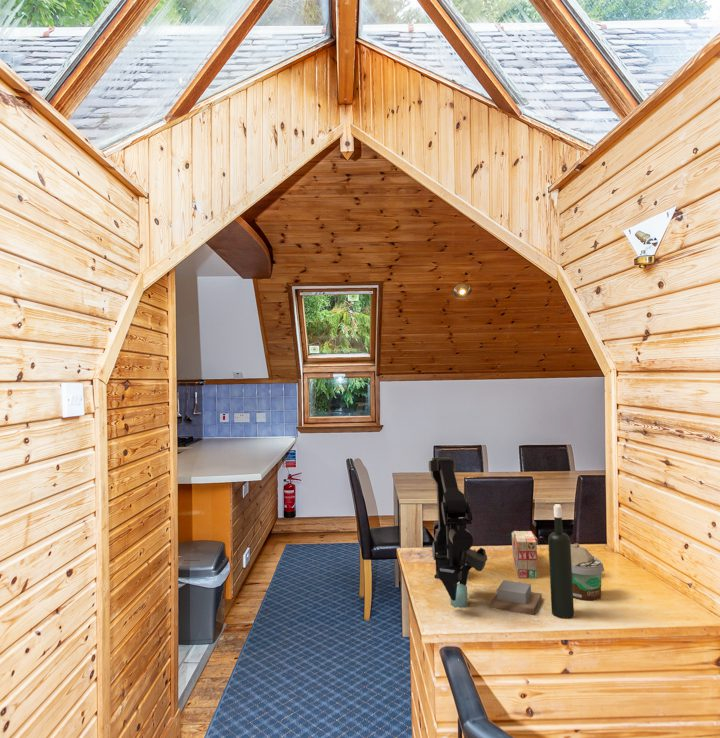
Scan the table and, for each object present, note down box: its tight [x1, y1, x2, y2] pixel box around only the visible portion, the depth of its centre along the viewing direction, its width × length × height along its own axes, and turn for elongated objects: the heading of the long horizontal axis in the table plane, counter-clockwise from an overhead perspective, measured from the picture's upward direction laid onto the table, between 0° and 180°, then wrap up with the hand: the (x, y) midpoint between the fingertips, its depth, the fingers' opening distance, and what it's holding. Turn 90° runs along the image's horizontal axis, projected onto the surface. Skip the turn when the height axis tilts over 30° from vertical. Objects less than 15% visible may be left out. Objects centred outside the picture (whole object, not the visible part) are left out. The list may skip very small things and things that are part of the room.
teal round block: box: [449, 583, 469, 609], centre depth 155 cm, size 5×5×5 cm
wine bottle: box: [547, 503, 575, 619], centre depth 146 cm, size 6×6×30 cm
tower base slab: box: [490, 591, 543, 616], centre depth 153 cm, size 12×12×2 cm
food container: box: [572, 556, 605, 602], centre depth 156 cm, size 12×6×10 cm, turn 117°
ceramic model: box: [571, 542, 595, 566], centre depth 176 cm, size 14×11×10 cm
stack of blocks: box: [511, 530, 539, 579], centre depth 183 cm, size 21×6×12 cm, turn 169°
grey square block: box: [496, 579, 532, 604], centre depth 154 cm, size 8×8×3 cm
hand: (458, 594), depth 155 cm, fingers open, 9 cm apart
